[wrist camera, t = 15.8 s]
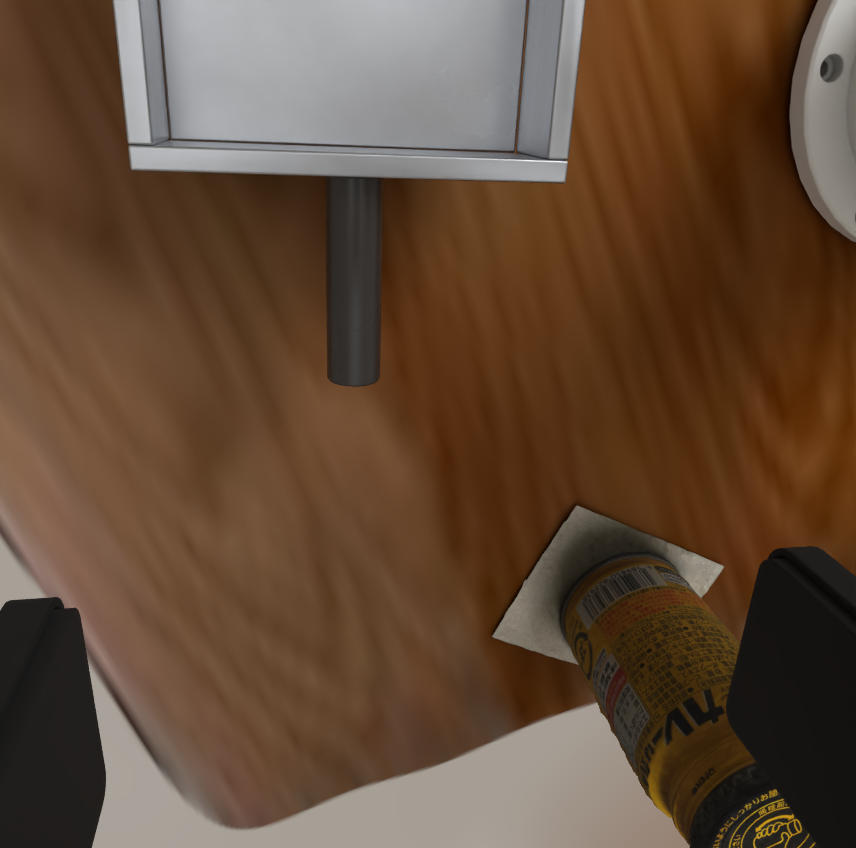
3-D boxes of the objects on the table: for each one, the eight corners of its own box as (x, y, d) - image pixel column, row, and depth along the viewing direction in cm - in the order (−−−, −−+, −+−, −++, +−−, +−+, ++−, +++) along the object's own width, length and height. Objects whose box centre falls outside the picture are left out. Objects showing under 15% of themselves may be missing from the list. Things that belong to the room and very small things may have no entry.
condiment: (637, 683, 36) (790, 928, 25) (490, 634, 33) (592, 885, 23) (721, 563, 34) (927, 772, 23) (574, 501, 32) (728, 705, 21)
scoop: (565, -258, 19) (622, -331, 16) (510, 355, 26) (543, 391, 22) (107, -323, 17) (66, -422, 14) (171, 360, 24) (154, 400, 20)
